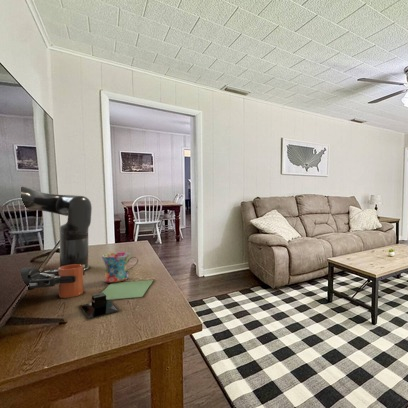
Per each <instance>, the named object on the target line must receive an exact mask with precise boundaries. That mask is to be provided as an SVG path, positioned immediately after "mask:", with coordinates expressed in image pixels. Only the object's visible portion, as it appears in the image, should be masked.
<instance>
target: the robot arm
mask: <svg viewBox="0 0 408 408" xmlns="http://www.w3.org/2000/svg"><path fill="white" fill-rule="evenodd" d="M21 186H22V187H21V198H22V201H23V203H24V205H25V207H26V208H28V209H29V210H28V211H41V212H46V213H52V214H57V215H61V216H65V217H67V221H66V222H65V223H64V224H62V225H60V226H59V267H62V266H66V265H72V264H81V265H83V277H84V276H85V275H86V274H85V273H86V272H85V271H87V270H88V269H89V268H90V267H89V227H90V226H91V223H92V209H93V207H92V202H91V201H90V199H89V198H88V197H86V196H84V195H77V194H76V195H75V194H56V193H55V194H54V193H48V192H42V191H39V190H36V189H34V188H31V187H28V186H24V185H21ZM21 268H22V269H21V276H22V279H23V281H24V283H25V284H26V285H27V286H28V285H29V287H28V290H27V291H33V290H34V289H38V288H39V289H41V288H50V287H55V286H56V285H58V286H59V284H60V283H73V282H75V281H76V276H61V278H60V276H59V268H51V269H50V270H49V269H48V270H44V271H43V272H41V271H40V269H39V268H38V267H35V266H33V267H32V266H31V267H21Z"/></svg>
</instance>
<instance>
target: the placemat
mask: <svg viewBox="0 0 408 408" xmlns="http://www.w3.org/2000/svg"><path fill="white" fill-rule="evenodd" d="M153 282H154V280H153V279H148V280H134V281H120V282H114V283H109V285H107V287H106V288H105V289H103V290H102V291H101V292H100V293H104V294H105V295H106V300H107V299H108V300H109V301H114V300H125V299H126V300H127V299H137V298H143V296H144V295H145V294H146V292H147V291H148V290H149V288H150V286H151V285H152V283H153Z"/></svg>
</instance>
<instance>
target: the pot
mask: <svg viewBox="0 0 408 408" xmlns="http://www.w3.org/2000/svg"><path fill="white" fill-rule="evenodd" d="M58 269H59V276H60V278H61V276H76V281H75V282H73V283H60V284H58V297H59V298H62V299H68V298H73V297H77V296H80V295H82V294H84V276H83V265H81V264H72V265H66V266H62V267H60V266H59V267H58Z"/></svg>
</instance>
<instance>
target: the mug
mask: <svg viewBox="0 0 408 408" xmlns="http://www.w3.org/2000/svg"><path fill="white" fill-rule="evenodd" d="M131 255H132V253H131V252H112V253H111V252H110V253H105V254H103V255H101V259H102V260H103V262H104V263H103V264H104V267H105V272H104V276H103V278H102V282H104V283H109V284H111V283H118V282H125V281H126V280H128V279H129V278H130V275H129V273H130V270H132V269H134V267H136V266H137V265H138V263H139V261H140V259H139V258H138V257H137V256H132V257H131ZM132 259H137V260H136V263H135V264H134V265H132V267H129V268H127V266H128V263H129V262H130V260H132Z"/></svg>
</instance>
